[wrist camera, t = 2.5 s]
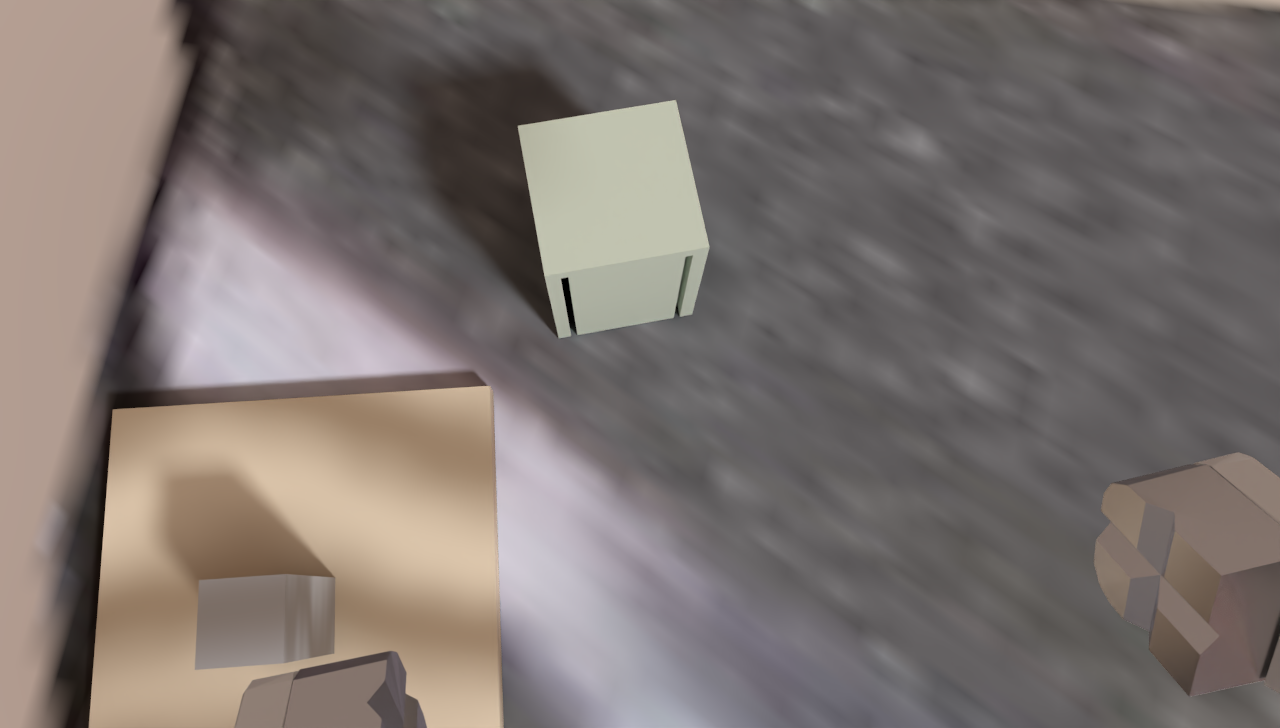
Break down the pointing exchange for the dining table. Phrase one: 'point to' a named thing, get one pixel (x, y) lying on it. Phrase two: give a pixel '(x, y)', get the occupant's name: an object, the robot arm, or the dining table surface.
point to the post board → (299, 553)
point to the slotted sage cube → (616, 216)
